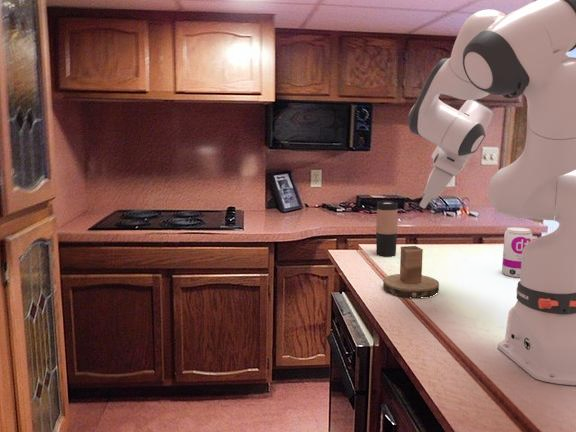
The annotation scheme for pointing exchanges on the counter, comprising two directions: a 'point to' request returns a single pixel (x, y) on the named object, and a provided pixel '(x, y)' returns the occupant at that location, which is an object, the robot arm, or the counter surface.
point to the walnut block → (411, 264)
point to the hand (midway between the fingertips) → (423, 201)
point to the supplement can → (514, 249)
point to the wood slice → (410, 287)
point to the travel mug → (386, 228)
